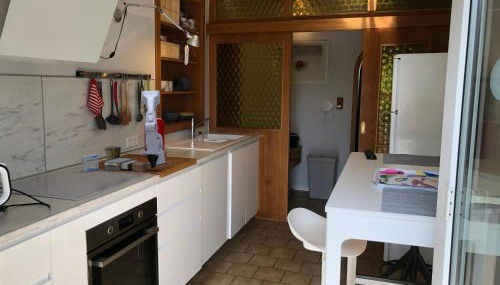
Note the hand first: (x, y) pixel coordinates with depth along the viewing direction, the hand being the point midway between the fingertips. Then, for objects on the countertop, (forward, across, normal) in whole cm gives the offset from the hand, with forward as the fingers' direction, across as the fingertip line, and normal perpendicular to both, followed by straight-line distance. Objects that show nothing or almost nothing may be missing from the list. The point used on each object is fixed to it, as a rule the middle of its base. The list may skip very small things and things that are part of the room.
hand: (153, 168), depth 236 cm
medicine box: (+2, -36, -10) cm, 38 cm away
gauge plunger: (+1, -18, -1) cm, 18 cm away
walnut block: (+2, -9, 0) cm, 9 cm away
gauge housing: (+2, -24, 0) cm, 25 cm away
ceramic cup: (+2, -40, +12) cm, 41 cm away
